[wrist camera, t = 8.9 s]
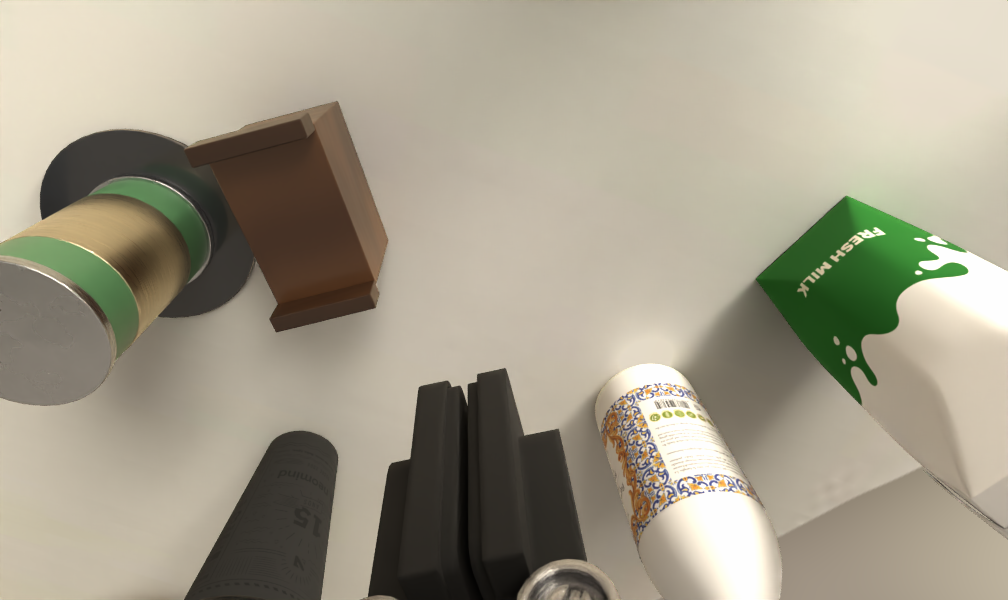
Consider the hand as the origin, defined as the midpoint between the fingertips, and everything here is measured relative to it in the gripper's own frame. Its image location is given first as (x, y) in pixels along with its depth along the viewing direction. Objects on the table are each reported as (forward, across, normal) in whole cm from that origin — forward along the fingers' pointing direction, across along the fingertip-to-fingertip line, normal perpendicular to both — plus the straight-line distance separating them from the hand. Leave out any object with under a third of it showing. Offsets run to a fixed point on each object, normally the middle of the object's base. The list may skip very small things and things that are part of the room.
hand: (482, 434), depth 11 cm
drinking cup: (+22, +17, +19) cm, 34 cm away
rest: (+23, +9, 0) cm, 24 cm away
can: (+17, +18, +1) cm, 25 cm away
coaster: (+22, +18, +1) cm, 29 cm away
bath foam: (+23, -7, +20) cm, 31 cm away
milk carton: (+23, -20, +13) cm, 33 cm away
